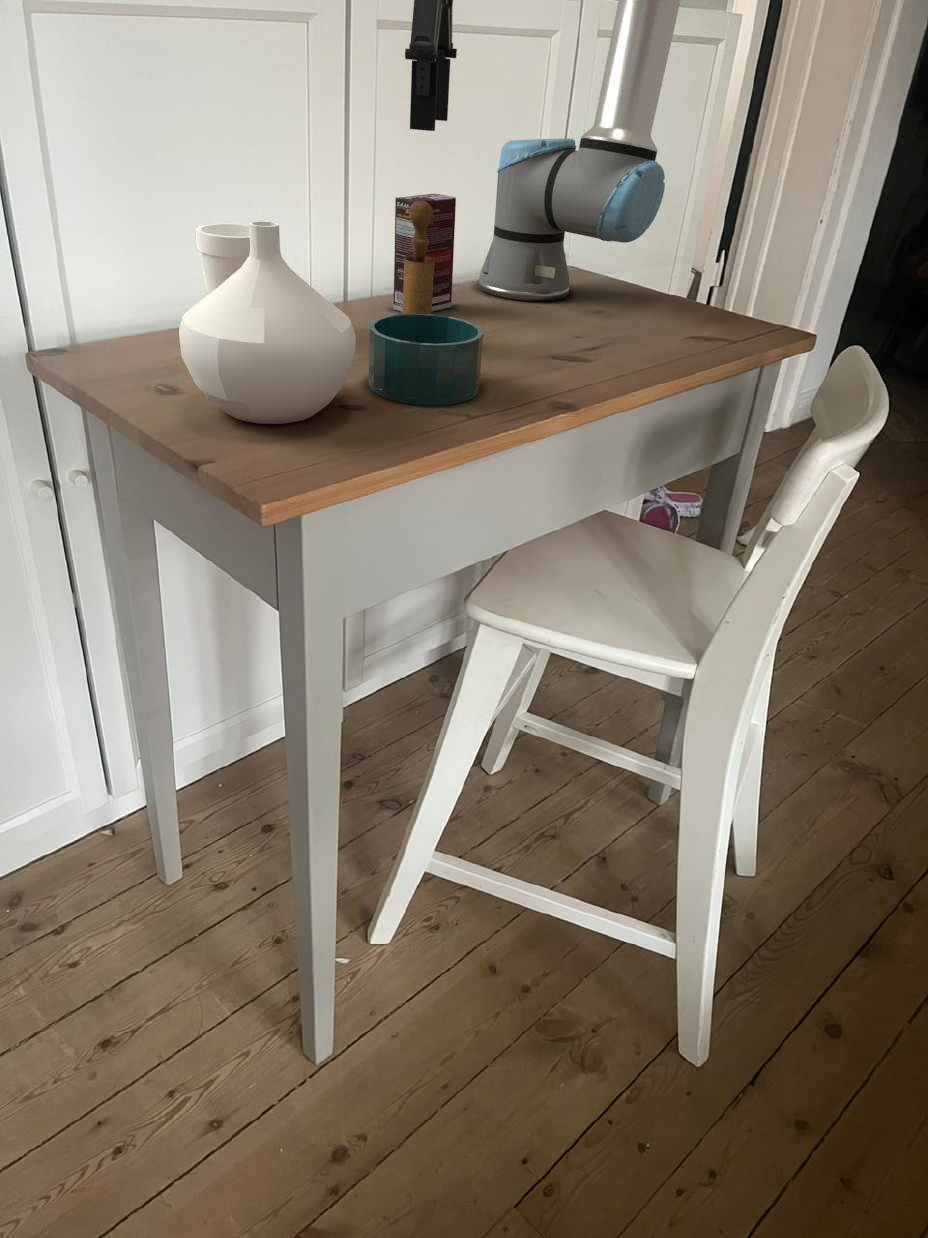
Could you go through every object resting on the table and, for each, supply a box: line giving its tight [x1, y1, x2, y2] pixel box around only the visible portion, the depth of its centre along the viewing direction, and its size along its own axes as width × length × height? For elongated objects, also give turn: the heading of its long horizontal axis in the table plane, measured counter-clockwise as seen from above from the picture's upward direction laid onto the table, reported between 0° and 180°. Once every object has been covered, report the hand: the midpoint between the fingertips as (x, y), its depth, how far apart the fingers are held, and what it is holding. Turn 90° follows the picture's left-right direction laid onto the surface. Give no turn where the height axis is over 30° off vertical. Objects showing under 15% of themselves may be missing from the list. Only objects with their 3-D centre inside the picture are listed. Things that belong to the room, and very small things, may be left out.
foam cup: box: [194, 222, 250, 296], centre depth 125 cm, size 10×9×13 cm
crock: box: [368, 313, 484, 407], centre depth 112 cm, size 13×13×7 cm
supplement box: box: [392, 193, 457, 313], centre depth 141 cm, size 9×5×16 cm, turn 139°
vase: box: [178, 220, 357, 425], centre depth 99 cm, size 18×18×19 cm
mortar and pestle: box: [401, 201, 434, 314], centre depth 124 cm, size 7×6×18 cm
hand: (429, 124), depth 110 cm, fingers open, 13 cm apart
